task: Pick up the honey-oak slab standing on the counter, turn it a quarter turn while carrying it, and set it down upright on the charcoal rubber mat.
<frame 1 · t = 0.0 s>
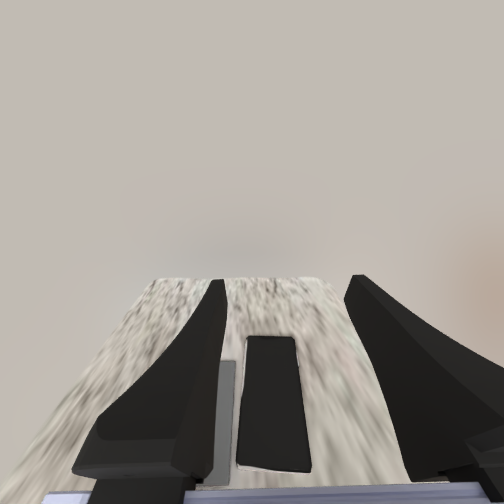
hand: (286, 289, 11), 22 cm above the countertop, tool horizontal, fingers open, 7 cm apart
smartphone: (271, 391, 27), on the countertop
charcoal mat: (192, 412, 24), on the countertop
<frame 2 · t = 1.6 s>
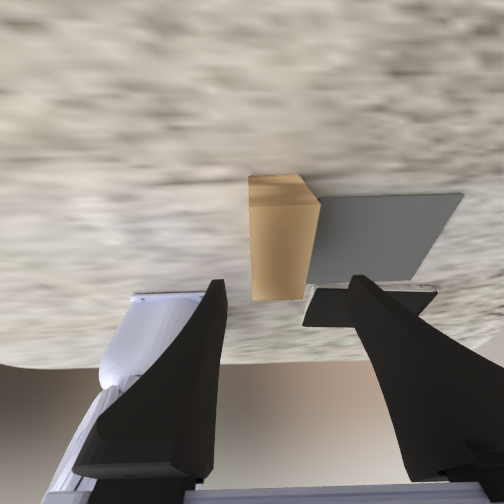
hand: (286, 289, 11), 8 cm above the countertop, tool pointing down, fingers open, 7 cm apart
smartphone: (360, 302, 26), on the countertop
oak slab: (271, 219, 18), on the countertop
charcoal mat: (370, 243, 20), on the countertop
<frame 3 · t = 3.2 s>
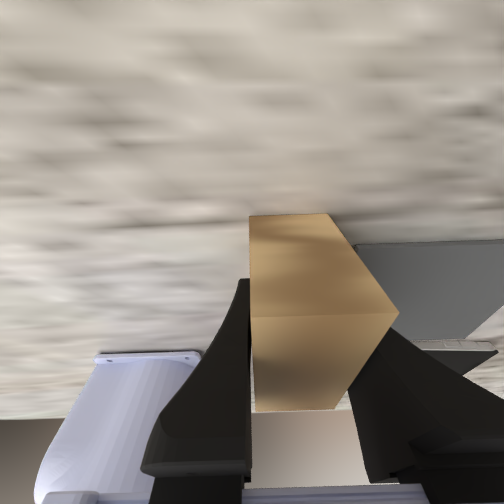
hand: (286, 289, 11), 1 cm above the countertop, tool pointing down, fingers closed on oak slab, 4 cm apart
smartphone: (391, 355, 21), on the countertop
oak slab: (283, 272, 13), on the countertop, touching gripper
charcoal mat: (419, 298, 14), on the countertop
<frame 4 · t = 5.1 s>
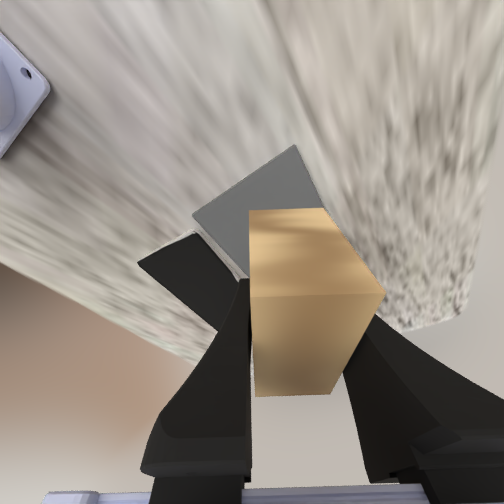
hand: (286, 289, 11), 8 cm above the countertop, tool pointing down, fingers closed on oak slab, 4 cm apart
smartphone: (212, 284, 24), on the countertop
oak slab: (281, 265, 13), point 6 cm above the countertop, touching gripper
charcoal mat: (274, 234, 19), on the countertop
when the fingers open (3 cm above the countertop, at t = 7.1 s): oak slab stays where it is, resting on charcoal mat.
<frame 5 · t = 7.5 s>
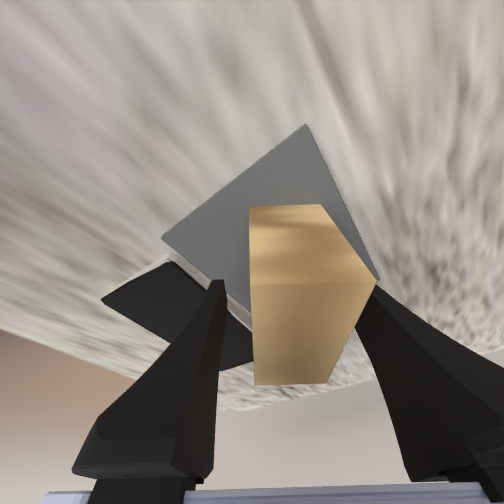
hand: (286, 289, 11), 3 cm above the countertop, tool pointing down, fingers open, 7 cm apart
smartphone: (203, 317, 19), on the countertop
oak slab: (280, 260, 13), resting on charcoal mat
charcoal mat: (279, 257, 14), on the countertop
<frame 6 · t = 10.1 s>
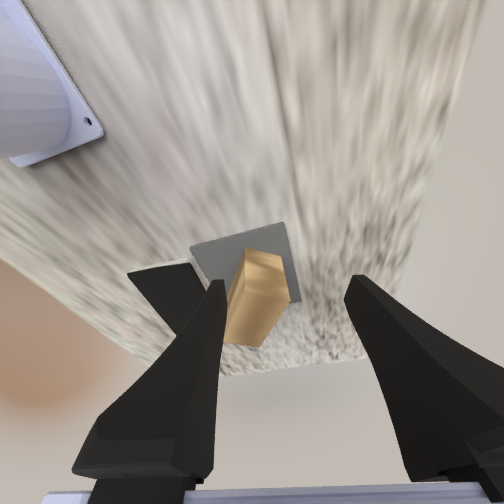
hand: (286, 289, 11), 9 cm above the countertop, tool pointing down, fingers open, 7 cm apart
smartphone: (187, 301, 27), on the countertop
oak slab: (251, 278, 23), resting on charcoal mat
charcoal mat: (251, 275, 24), on the countertop
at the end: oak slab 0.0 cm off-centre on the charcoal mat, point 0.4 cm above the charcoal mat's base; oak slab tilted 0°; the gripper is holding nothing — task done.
